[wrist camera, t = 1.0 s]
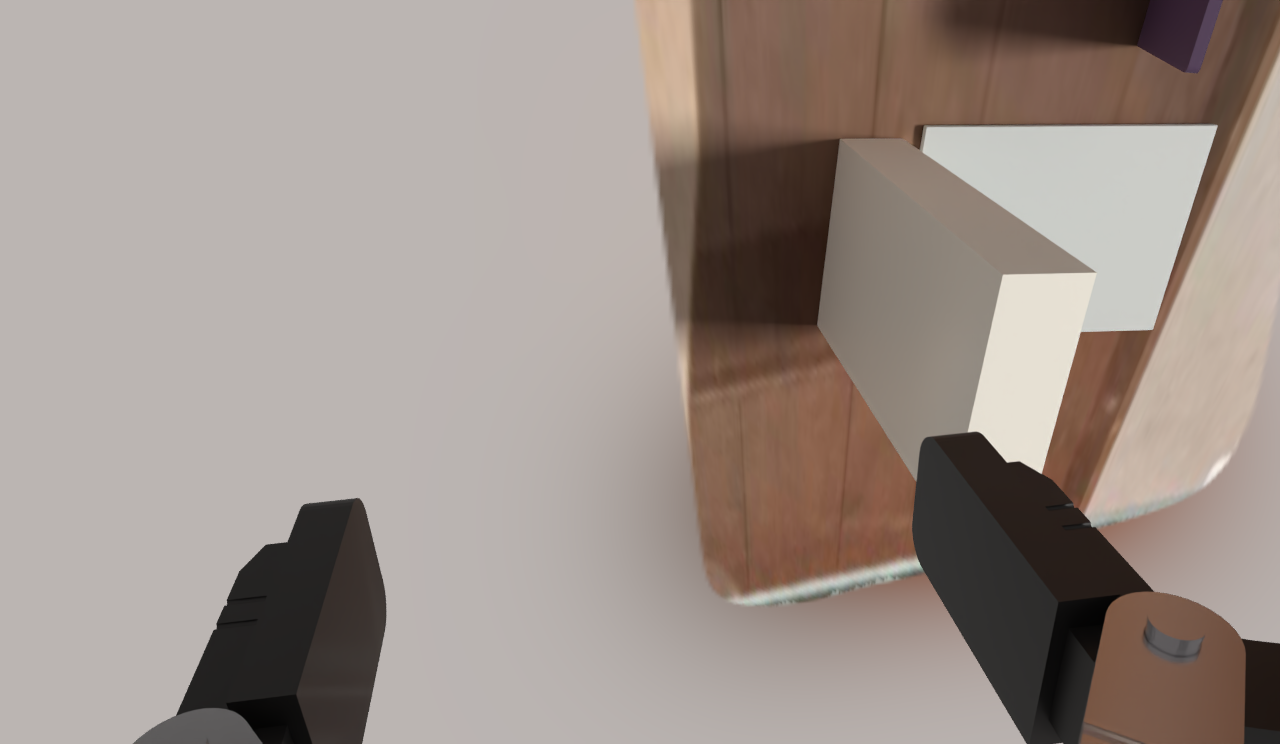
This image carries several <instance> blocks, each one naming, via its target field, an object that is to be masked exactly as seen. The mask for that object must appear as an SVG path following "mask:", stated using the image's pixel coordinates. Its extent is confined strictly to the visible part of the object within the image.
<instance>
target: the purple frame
mask: <svg viewBox="0 0 1280 744" xmlns="http://www.w3.org/2000/svg"><path fill="white" fill-rule="evenodd" d="M1222 1H1223V0H1150V3H1149V6H1148V10H1147V13H1146V17H1145V20H1144V23H1143V27H1142V30H1141V34H1140V37H1139V41H1138V44H1137V46H1138V47H1140V48H1142V49H1143V50H1145V51H1147V52H1149V53H1151V54H1152V55H1154V56H1156V57H1158V58H1159V59H1161V60H1163V61H1165V62H1167V63H1168V64H1170V65H1172V66H1174V67H1175V68H1177V69H1179V70H1181V71H1183V72H1188V73H1198V72H1199V70H1200V68H1201V65H1202V62H1203V59H1204V56H1205V53H1206V50H1207V47H1208V44H1209V41H1210V38H1211V35H1212V32H1213V29H1214V26H1215V23H1216V20H1217V17H1218V13H1219V10H1220V7H1221V4H1222Z"/></svg>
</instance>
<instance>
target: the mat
mask: <svg viewBox="0 0 1280 744" xmlns="http://www.w3.org/2000/svg"><path fill="white" fill-rule="evenodd" d="M1216 129H1217V125H1214V124H1087V125H924V128H923V134H922V140H921V146H920V151H921V152H923V153H924V154H926V155H927V156H929V157H930V158H932V159H933V160H934V161H936V162H937V163H939V164H940V165H942V166H943V167H945V168H946V169H948V170H949V171H950V172H952V173H953V174H955V175H956V176H958V177H959V178H961V179H962V180H963V181H965V182H966V183H968V184H969V185H971V186H972V187H974V188H975V189H977V190H978V191H979V192H981V193H982V194H984V195H985V196H987V197H988V198H990V199H991V200H992V201H994V202H995V203H997V204H998V205H1000V206H1001V207H1003V208H1004V209H1006V210H1007V211H1008V212H1010V213H1011V214H1013V215H1014V216H1016V217H1017V218H1019V219H1020V220H1021V221H1023V222H1024V223H1026V224H1027V225H1029V226H1030V227H1032V228H1033V229H1035V230H1036V231H1037V232H1039V233H1040V234H1042V235H1043V236H1045V237H1046V238H1048V239H1049V240H1050V241H1052V242H1053V243H1055V244H1056V245H1058V246H1059V247H1061V248H1062V249H1064V250H1065V251H1066V252H1068V253H1069V254H1071V255H1072V256H1074V257H1075V258H1077V259H1078V260H1079V261H1081V262H1082V263H1084V264H1085V265H1087V266H1088V267H1090V268H1091V269H1093V270H1094V271H1095V272H1097V274H1096V278H1095V282H1094V285H1093V289H1092V293H1091V296H1090V300H1089V303H1088V307H1087V311H1086V314H1085V318H1084V322H1083V325H1082V329H1081V332H1092V331H1128V330H1153V327H1154V324H1155V321H1156V318H1157V315H1158V312H1159V309H1160V305H1161V302H1162V299H1163V296H1164V293H1165V290H1166V286H1167V283H1168V280H1169V277H1170V274H1171V271H1172V268H1173V264H1174V261H1175V258H1176V255H1177V252H1178V249H1179V246H1180V242H1181V239H1182V236H1183V233H1184V230H1185V227H1186V224H1187V220H1188V217H1189V214H1190V211H1191V208H1192V205H1193V201H1194V198H1195V195H1196V192H1197V189H1198V186H1199V183H1200V179H1201V176H1202V173H1203V170H1204V167H1205V164H1206V161H1207V157H1208V154H1209V151H1210V148H1211V145H1212V142H1213V139H1214V135H1215V132H1216Z"/></svg>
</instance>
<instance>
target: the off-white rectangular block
mask: <svg viewBox="0 0 1280 744" xmlns="http://www.w3.org/2000/svg"><path fill="white" fill-rule="evenodd" d="M1096 274H1097V272H1095V271H1094V270H1093V269H1091V268H1090V267H1088V266H1087V265H1085V264H1084V263H1082V262H1081V261H1079V260H1078V259H1077V258H1075V257H1074V256H1072V255H1071V254H1069V253H1068V252H1066V251H1065V250H1064V249H1062V248H1061V247H1059V246H1058V245H1056V244H1055V243H1053V242H1052V241H1050V240H1049V239H1048V238H1046V237H1045V236H1043V235H1042V234H1040V233H1039V232H1037V231H1036V230H1035V229H1033V228H1032V227H1030V226H1029V225H1027V224H1026V223H1024V222H1023V221H1021V220H1020V219H1019V218H1017V217H1016V216H1014V215H1013V214H1011V213H1010V212H1008V211H1007V210H1006V209H1004V208H1003V207H1001V206H1000V205H998V204H997V203H995V202H994V201H992V200H991V199H990V198H988V197H987V196H985V195H984V194H982V193H981V192H979V191H978V190H977V189H975V188H974V187H972V186H971V185H969V184H968V183H966V182H965V181H963V180H962V179H961V178H959V177H958V176H956V175H955V174H953V173H952V172H950V171H949V170H948V169H946V168H945V167H943V166H942V165H940V164H939V163H937V162H936V161H934V160H933V159H932V158H930V157H929V156H927V155H926V154H924V153H923V152H921V151H920V150H919V149H917V148H916V147H914V146H913V145H911V144H910V143H908V142H907V141H905V140H904V139H903V138H871V139H840V142H839V151H838V159H837V167H836V175H835V183H834V192H833V200H832V208H831V216H830V224H829V232H828V241H827V249H826V257H825V265H824V273H823V281H822V290H821V298H820V306H819V314H818V322H817V326H818V328H819V329H820V331H821V332H822V334H823V335H824V337H825V339H826V340H827V342H828V343H829V345H830V346H831V348H832V350H833V351H834V353H835V354H836V356H837V357H838V359H839V361H840V362H841V364H842V365H843V367H844V369H845V370H846V372H847V373H848V375H849V376H850V378H851V380H852V381H853V383H854V384H855V386H856V387H857V389H858V391H859V392H860V394H861V395H862V397H863V398H864V400H865V402H866V403H867V405H868V406H869V408H870V409H871V411H872V413H873V414H874V416H875V417H876V419H877V420H878V422H879V424H880V425H881V427H882V428H883V430H884V431H885V433H886V435H887V436H888V438H889V439H890V441H891V442H892V444H893V446H894V447H895V449H896V450H897V452H898V454H899V455H900V457H901V458H902V460H903V461H904V463H905V465H906V466H907V468H908V469H909V471H910V472H911V474H912V476H913V477H914V479H915V480H916V482H917V472H918V462H919V452H920V447H921V444H922V441H923V440H924V438H926V437H930V436H939V435H948V434H958V433H967V432H980V433H981V434H983V435H984V436H985V438H986V439H987V440H988V441H989V442H990V443H991V444H992V446H993V447H994V448H995V449H996V450H997V451H998V453H999V454H1000V455H1001V456H1002V457H1003V458H1004V460H1005V461H1006V462H1007V463H1008V462H1017V461H1020V462H1022V463H1024V464H1025V465H1027V466H1029V467H1031V468H1032V469H1034V470H1036V471H1037V472H1039V473H1041V474H1042V470H1043V466H1044V463H1045V459H1046V456H1047V452H1048V448H1049V445H1050V441H1051V437H1052V434H1053V430H1054V427H1055V423H1056V419H1057V416H1058V412H1059V409H1060V405H1061V401H1062V398H1063V394H1064V390H1065V387H1066V383H1067V380H1068V376H1069V372H1070V369H1071V365H1072V361H1073V358H1074V354H1075V351H1076V347H1077V343H1078V340H1079V336H1080V332H1081V329H1082V325H1083V322H1084V318H1085V314H1086V311H1087V307H1088V303H1089V300H1090V296H1091V293H1092V289H1093V285H1094V282H1095V278H1096Z"/></svg>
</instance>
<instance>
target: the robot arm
mask: <svg viewBox="0 0 1280 744" xmlns="http://www.w3.org/2000/svg"><path fill="white" fill-rule="evenodd" d="M912 532H913V541H914V546H915V550H916V554H917V557H918V560H919V562H920V565H921V566H922V568H923V570H924V572H925V573H926V575H927V577H928V578H929V580H930V582H931V584H932V585H933V587H934V589H935V590H936V592H937V594H938V595H939V597H940V599H941V600H942V602H943V604H944V605H945V607H946V609H947V610H948V612H949V614H950V615H951V617H952V619H953V620H954V622H955V624H956V625H957V627H958V629H959V631H960V632H961V634H962V636H963V637H964V639H965V641H966V642H967V644H968V646H969V647H970V649H971V651H972V652H973V654H974V656H975V657H976V659H977V661H978V662H979V664H980V666H981V668H982V669H983V671H984V672H985V674H986V676H987V678H988V679H989V681H990V683H991V684H992V686H993V688H994V689H995V691H996V693H997V694H998V696H999V698H1000V700H1001V701H1002V703H1003V705H1004V706H1005V708H1006V710H1007V711H1008V713H1009V715H1010V716H1011V718H1012V720H1013V721H1014V723H1015V725H1016V726H1017V728H1018V730H1019V731H1020V733H1021V735H1022V736H1023V738H1024V740H1025V741H1026V743H1027V744H1056V743H1063V744H1280V644H1278V643H1269V642H1261V641H1252V640H1246V639H1241V637H1240V636H1239V634H1238V633H1237V631H1236V630H1235V629H1234V628H1233V627H1232V626H1231V625H1230V624H1229V623H1228V622H1227V621H1225V620H1224V619H1223V618H1222V617H1221V616H1219V615H1218V614H1216V613H1215V612H1213V611H1212V610H1210V609H1208V608H1206V607H1204V606H1202V605H1201V604H1198V603H1196V602H1194V601H1191V600H1189V599H1186V598H1182V597H1179V596H1176V595H1171V594H1167V593H1160V592H1154V591H1153V590H1152V589H1151V588H1150V587H1149V586H1148V584H1147V583H1146V582H1145V581H1144V580H1143V579H1142V578H1141V577H1140V576H1139V575H1138V574H1137V572H1136V571H1135V570H1134V569H1133V568H1132V567H1131V566H1130V565H1129V564H1128V563H1127V562H1126V560H1125V559H1124V558H1123V557H1122V556H1121V555H1120V554H1119V553H1118V552H1117V551H1116V549H1115V548H1114V547H1113V546H1112V545H1111V544H1110V543H1109V542H1108V541H1107V540H1106V538H1105V537H1104V536H1103V535H1102V534H1101V533H1100V532H1099V531H1098V530H1097V529H1096V528H1095V527H1091V522H1090V521H1089V520H1088V519H1087V518H1086V517H1085V515H1084V514H1083V513H1082V512H1081V511H1080V510H1079V509H1078V508H1074V506H1073V502H1072V501H1071V500H1070V499H1069V498H1068V497H1067V496H1066V495H1065V494H1064V492H1063V491H1062V490H1061V489H1060V488H1059V487H1058V486H1057V485H1056V484H1055V483H1054V482H1053V480H1051V479H1050V478H1048V477H1046V476H1044V475H1043V474H1041V473H1039V472H1037V471H1036V470H1034V469H1032V468H1031V467H1029V466H1027V465H1025V464H1024V463H1022V462H1020V461H1017V462H1008V463H1007V462H1006V461H1005V460H1004V458H1003V457H1002V456H1001V455H1000V454H999V453H998V451H997V450H996V449H995V448H994V447H993V446H992V444H991V443H990V442H989V441H988V440H987V439H986V438H985V436H984V435H983V434H981V433H980V432H967V433H958V434H948V435H939V436H930V437H926V438H924V440H923V441H922V444H921V447H920V452H919V462H918V472H917V482H916V492H915V502H914V512H913V523H912ZM385 626H386V596H385V589H384V584H383V579H382V575H381V571H380V567H379V563H378V559H377V555H376V551H375V547H374V542H373V538H372V534H371V530H370V526H369V522H368V518H367V514H366V510H365V508H364V505H363V503H362V501H361V500H360V499H359V498H355V499H346V500H337V501H328V502H319V503H309V504H304V505H303V506H302V507H301V509H300V511H299V514H298V517H297V519H296V522H295V524H294V527H293V530H292V532H291V535H290V537H289V540H288V542H286V543H277V544H268V545H265V546H264V547H263V548H262V549H261V550H260V551H259V552H258V553H257V554H256V555H255V556H254V557H253V558H252V560H251V561H249V562H248V563H247V564H246V565H245V566H244V567H243V568H242V569H241V570H240V571H239V574H238V576H237V578H236V580H235V583H234V585H233V587H232V590H231V592H230V594H229V596H228V599H227V606H224V608H223V610H222V612H221V615H220V617H219V619H218V621H217V630H214V631H213V633H212V635H211V637H210V640H209V642H208V644H207V647H206V649H205V651H204V654H203V656H202V658H201V660H200V663H199V665H198V667H197V669H196V672H195V674H194V676H193V678H192V681H191V683H190V685H189V687H188V690H187V692H186V694H185V697H184V699H183V701H182V704H181V706H180V708H179V710H178V712H177V715H176V716H175V717H172V718H170V719H168V720H166V721H164V722H162V723H160V724H158V725H157V726H155V727H154V728H152V729H151V730H149V731H148V732H146V733H145V734H144V735H142V736H141V737H140V738H139V739H137V740H136V741H135V742H134V743H133V744H362V741H363V736H364V732H365V726H366V722H367V717H368V712H369V707H370V702H371V697H372V692H373V687H374V682H375V677H376V672H377V667H378V662H379V657H380V652H381V647H382V642H383V637H384V632H385Z"/></svg>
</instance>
